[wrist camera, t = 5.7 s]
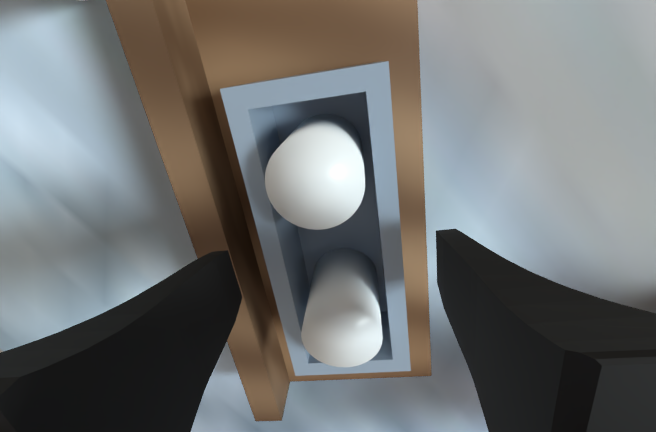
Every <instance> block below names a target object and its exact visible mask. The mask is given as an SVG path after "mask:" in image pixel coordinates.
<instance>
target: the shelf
mask: <svg viewBox="0 0 656 432" xmlns="http://www.w3.org/2000/svg"><path fill="white" fill-rule="evenodd" d="M106 2H107V5H108V8H109V11H110V14H111V16H112V19H113V22H114V25H115V28H116V30H117V33H118V36H119V39H120V42H121V44H122V47H123V50H124V53H125V56H126V59H127V61H128V64H129V67H130V70H131V73H132V75H133V78H134V81H135V84H136V87H137V89H138V92H139V95H140V98H141V101H142V103H143V106H144V109H145V112H146V115H147V117H148V120H149V123H150V126H151V129H152V132H153V134H154V137H155V140H156V143H157V146H158V148H159V151H160V154H161V157H162V160H163V162H164V165H165V168H166V171H167V174H168V176H169V179H170V182H171V185H172V188H173V191H174V193H175V196H176V199H177V202H178V205H179V207H180V210H181V213H182V216H183V219H184V221H185V224H186V227H187V230H188V233H189V235H190V238H191V241H192V244H193V247H194V249H195V252H196V255H197V258H198V259H199V258H200V257H202V256H204V255H206V254H208V253H210V252H215V251H226V250H228V252H229V255H230V258H231V262H232V265H233V268H234V271H235V275H236V278H237V281H238V284H239V288H240V291H241V294H242V301H241V304H240V308H239V312H238V315H237V318H236V321H235V324H234V326H233V328H232V330H231V333H230V335H229V337H228V339H227V342H228V345H229V348H230V351H231V353H232V356H233V359H234V362H235V365H236V367H237V370H238V373H239V376H240V379H241V381H242V384H243V387H244V390H245V393H246V396H247V398H248V401H249V404H250V407H251V410H252V412H253V415H254V418H255V421H282V417H283V412H284V407H285V403H286V398H287V393H288V388H289V384H290V381H314V380H339V379H363V378H388V377H413V376H431V351H430V325H429V298H428V272H427V245H426V219H425V193H424V166H423V140H422V113H421V87H420V60H419V34H418V8H417V0H106ZM379 61H389V73H390V87H391V101H392V115H393V129H394V143H395V157H396V171H397V185H398V199H399V213H400V227H401V241H402V255H403V268H404V282H405V296H406V310H407V324H408V338H409V352H410V366H411V371H399V372H375V373H352V374H328V375H305V376H295V372H294V369H293V365H292V361H291V357H290V353H289V350H288V346H287V342H286V338H285V334H284V331H283V327H282V323H281V319H280V315H279V312H278V308H277V304H276V300H275V297H274V293H273V289H272V285H271V281H270V278H269V274H268V270H267V266H266V262H265V259H264V255H263V251H262V247H261V243H260V240H259V236H258V232H257V228H256V225H255V221H254V217H253V213H252V209H251V206H250V202H249V198H248V194H247V190H246V187H245V183H244V179H243V175H242V171H241V168H240V164H239V160H238V156H237V152H236V149H235V145H234V141H233V137H232V134H231V130H230V126H229V122H228V118H227V115H226V111H225V107H224V103H223V99H222V96H221V92H220V89H222V88H227V87H232V86H237V85H242V84H247V83H252V82H258V81H264V80H270V79H276V78H282V77H288V76H294V75H300V74H306V73H312V72H318V71H325V70H331V69H337V68H343V67H349V66H355V65H361V64H367V63H373V62H379Z"/></svg>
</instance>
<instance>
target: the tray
mask: <svg viewBox="0 0 656 432" xmlns="http://www.w3.org/2000/svg"><path fill="white" fill-rule="evenodd" d="M220 92H221V96H222V99H223V103H224V107H225V111H226V115H227V118H228V122H229V126H230V130H231V134H232V137H233V141H234V145H235V149H236V152H237V156H238V160H239V164H240V168H241V171H242V175H243V179H244V183H245V187H246V190H247V194H248V198H249V202H250V206H251V209H252V213H253V217H254V221H255V225H256V228H257V232H258V236H259V240H260V243H261V247H262V251H263V255H264V259H265V262H266V266H267V270H268V274H269V278H270V281H271V285H272V289H273V293H274V297H275V300H276V304H277V308H278V312H279V315H280V319H281V323H282V327H283V331H284V334H285V338H286V342H287V346H288V350H289V353H290V357H291V361H292V365H293V369H294V372H295V376H305V375H328V374H352V373H375V372H399V371H411V366H410V352H409V338H408V324H407V310H406V296H405V282H404V268H403V255H402V241H401V227H400V213H399V199H398V185H397V171H396V157H395V143H394V129H393V115H392V101H391V87H390V73H389V61H379V62H373V63H367V64H361V65H355V66H349V67H343V68H337V69H331V70H325V71H318V72H312V73H306V74H300V75H294V76H288V77H282V78H276V79H270V80H264V81H258V82H252V83H247V84H242V85H237V86H232V87H227V88H222V89H220Z"/></svg>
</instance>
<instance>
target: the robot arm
mask: <svg viewBox="0 0 656 432" xmlns="http://www.w3.org/2000/svg"><path fill="white" fill-rule="evenodd" d="M436 249H437V283H438V287H439V291H440V295H441V299H442V302H443V306H444V309H445V312H446V314H447V317H448V319H449V322H450V324H451V326H452V329H453V331H454V334H455V336H456V338H457V341H458V343H459V346H460V348H461V350H462V353H463V355H464V357H465V360H466V362H467V365H468V367H469V370H470V372H471V375H472V378H473V381H474V383H475V387H476V390H477V393H478V397H479V400H480V403H481V407H482V410H483V413H484V417H485V420H486V424H487V427H488V431H489V432H656V314H655V313H651V312H647V311H643V310H640V309H636V308H632V307H628V306H624V305H621V304H617V303H614V302H610V301H607V300H604V299H600V298H597V297H594V296H591V295H589V294H586V293H583V292H580V291H577V290H574V289H571V288H568V287H566V286H563V285H560V284H558V283H555V282H553V281H551V280H548V279H546V278H544V277H541V276H539V275H536V274H534V273H532V272H530V271H528V270H526V269H524V268H522V267H520V266H518V265H516V264H514V263H512V262H510V261H508V260H506V259H505V258H503V257H501V256H499V255H498V254H496V253H494V252H492V251H491V250H489V249H487V248H486V247H484V246H483V245H481V244H479V243H478V242H476V241H475V240H473V239H471V238H470V237H468V236H467V235H465V234H463V233H462V232H460V231H458V230H457V229H449V230H439V231H436ZM241 301H242V294H241V291H240V288H239V284H238V281H237V278H236V275H235V271H234V268H233V265H232V262H231V258H230V255H229V252H228V250H226V251H215V252H210V253H208V254H206V255H204V256H202V257H200V258H199V259H197V260H195V261H194V262H192V263H190V264H189V265H187V266H185V267H184V268H182V269H181V270H179V271H177V272H176V273H174V274H172V275H171V276H169V277H168V278H166V279H164V280H163V281H161V282H159V283H158V284H156V285H154V286H153V287H151V288H149V289H147V290H146V291H144V292H142V293H141V294H139V295H137V296H135V297H134V298H132V299H130V300H128V301H126V302H124V303H122V304H120V305H119V306H116V307H114V308H112V309H110V310H108V311H106V312H104V313H102V314H100V315H98V316H96V317H94V318H91V319H89V320H87V321H84V322H82V323H79V324H77V325H75V326H72V327H70V328H68V329H65V330H63V331H61V332H58V333H56V334H53V335H50V336H48V337H45V338H42V339H40V340H37V341H34V342H31V343H28V344H25V345H22V346H20V347H17V348H14V349H11V350H8V351H5V352H1V353H0V432H191V429H192V425H193V422H194V419H195V416H196V413H197V410H198V407H199V404H200V402H201V399H202V396H203V393H204V390H205V388H206V385H207V383H208V381H209V378H210V376H211V374H212V372H213V369H214V367H215V365H216V363H217V361H218V359H219V357H220V354H221V352H222V350H223V348H224V346H225V344H226V342H227V339H228V337H229V335H230V333H231V330H232V328H233V326H234V324H235V321H236V318H237V315H238V312H239V308H240V304H241Z"/></svg>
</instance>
